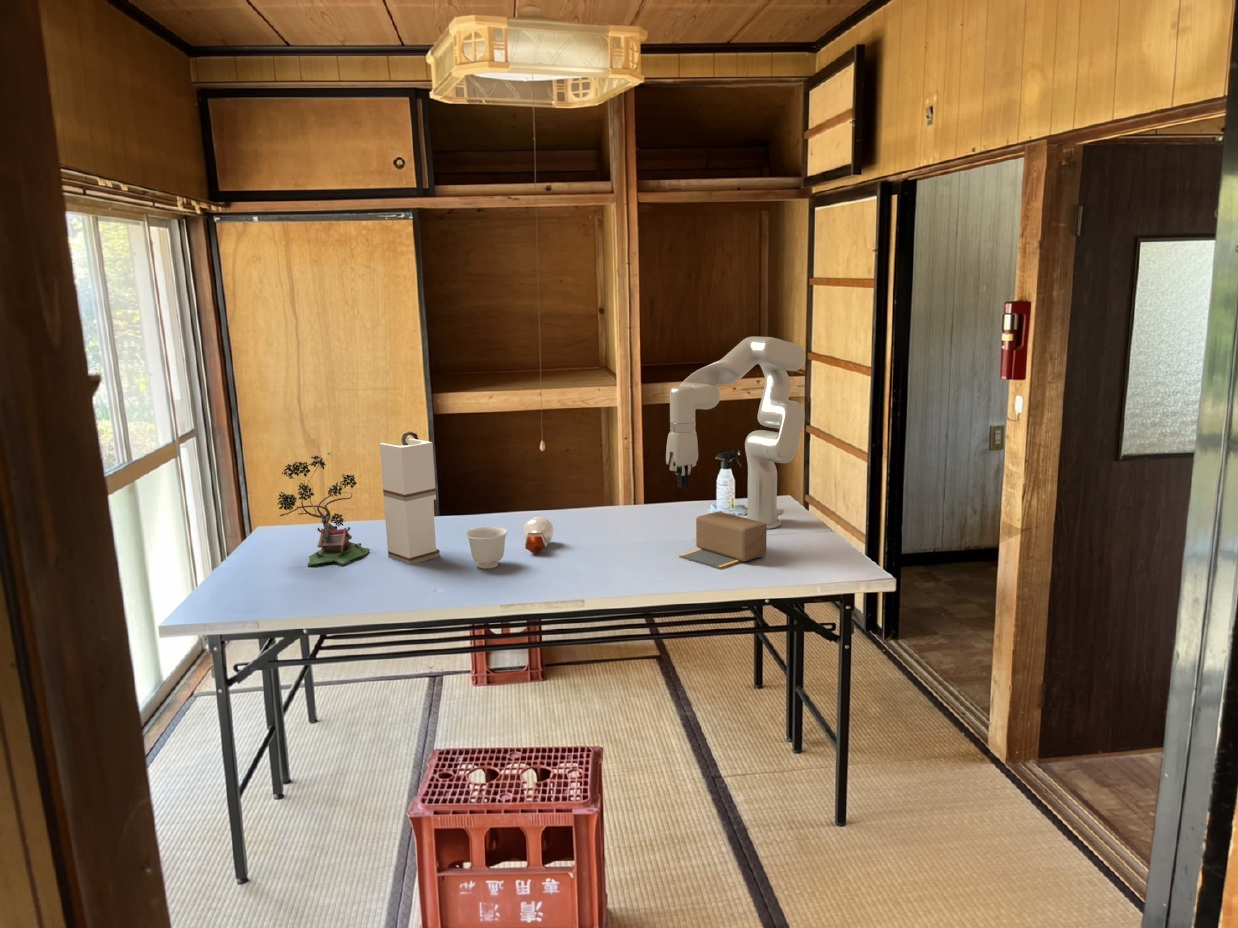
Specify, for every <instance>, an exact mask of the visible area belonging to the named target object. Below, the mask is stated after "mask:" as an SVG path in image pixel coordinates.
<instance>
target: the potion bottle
mask: <svg viewBox="0 0 1238 928" xmlns="http://www.w3.org/2000/svg"><path fill="white" fill-rule="evenodd" d="M522 533H523V538H524V539H525V543H524V549H525V550H527V551H529V552H531V553H532V554H533V555H538V554H539V553H541V552H542V551H543V550H545V549H546V547H547V546H548V545H549V542H551V541H552V539H553V537H554V533H555V529H554V526H553V523H552V522H551V521H550V520H549V519H548V518H547V517H543V516H541V515H536V516H534V517H531V518H530V519H528V520H527V521H526V522H524V526H523V531H522Z"/></svg>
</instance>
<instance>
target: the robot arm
mask: <svg viewBox="0 0 1238 928" xmlns="http://www.w3.org/2000/svg"><path fill="white" fill-rule="evenodd" d="M805 352H806V351H805V350H804V348H803V347H802V346H801V345H799V344H798V343H794V342H790V341H786V340H783V339H779V338H777V337H776V338H775V337H772V336H747V337H746V338H744V339H742V340H741V341H740V342H739V343H738V344H736V346H734V347H733V348H732V349H731V350H730V351H729V352H727V354H726V355H724V356H723V357H722V358H721V359H719V360H717V361H714V362H712V363H710V364H708V365H706V366H704V367H700V368H699V369H697V370H695V371H694V372H692V373H690V375H689V376H687V377H686V378H685V379H684V380H683V381H682V382H681V383H680V384H679V386H678V385H677V386H673V387H671V388H670V390H669V426H670V427H669V430H670V431H669V433H668V435H667V440H666V450H665V463H666V465H668V466H669V471H672V472H675V475H677V477H676V479H677V480H676V481H677V488H681V489H688V488H689V487H690V483H689V482H690V476H689V475H690V474H691V471H692V468H694V467H695V466H697V462H698V460H699V447H698V446H699V444H698V435H697V431H696V426H697V425H696V424H697V423H696V410H711V409H713V408H715V407H716V406H717V405H718V404H719V403H720V400H721V393H720V391H719V389H718V387H719V386H724V385H725V386H726V385H730V384H733V383H736V382H738V381H740V380H741V379H742V378H743V377H744V376H745V375H746V374H747V373H748V372H750V371H751V370H752V369H753V368H754V367H755V366H756V365H759V366H760V368H761V371H762V372H763V373H762V374H763V376H764V385H763V387H764V388H763V392H762V396H761V398H760V403H759V406H758V407H759V408H758V412H757V421H758V423H759V424H760V425H761V426H764V427H767V428H771V429H772V428H773V429H779V430H778V431H777V432H776V431H770V430H764V429H762V430H761V429H759V430H754V431H751V432H750V433H748V435H747V436H746V438H745V441H744V448H745V449H744V450H745V457H746V462H747V517H746V518H747V519H751V520H755V521H759V522H763V523H765V524H766V525H767V530H769V529H774V528H775V529H776V528H779V527H781V525H782V520H781V519H779V516H781V515H784V513H785V509H783V508H779V509H777V508H778V507H777V505H778V504H777V503H778V501H777V499H778V496H777V495H778V471H777V467H776V464H775V463H778V464H787V463H790V462H791V461H792V460H793V459H794V458H795V456H796V454H797V451H798V446H799V443H800V439H801V435H802V432H803V428H804V424H805V419H806V418H805V417H806V416H805V410H804V407H803V405H802V404H801V403H800V402H798V401H796V400H789V399H790V393H791V388H792V386H791V385H792V383H791V379H790V377H789V374H788V372H796V371H799V370H800V369H801V368H802V367H803V366H805V363H806V357H807V356H806V353H805Z"/></svg>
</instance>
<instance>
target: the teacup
mask: <svg viewBox="0 0 1238 928" xmlns="http://www.w3.org/2000/svg"><path fill="white" fill-rule="evenodd" d="M507 534H508V530H507V529H506V528H503V527H499V526H498V527H497V526H485V527H484V526H483V527H479V528H478V527H477V528H473V527H471V528H469V529H468V530H467V532H466V533H465V536H466V537H467V538H468V542H469V547H470V553H471V556H472V559H473V560H474V561H475V562H476V563H478V568H480V569H494V568H496V567H498V566H499V562H500V561H501V560H502V559H503V557H504V552H505V546H506V545H505V544H506V543H505V542H506V536H507Z"/></svg>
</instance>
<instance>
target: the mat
mask: <svg viewBox="0 0 1238 928" xmlns="http://www.w3.org/2000/svg"><path fill="white" fill-rule="evenodd" d="M678 556H679V558H681V559H684V560H688V561H691V562H694V563H698V564H700V565H704V566H708V567H711V568H715V569H718V570H722V568H723V569H725V568H727V567H731V566H734V565H737V564H739V563H743V562H744V561H741V560H738V559H735V558H731V557H728V556H724V555H721V554H718V553H714V552H711V551H708V550H704V549H701V548H697V549H694V550H691V551H689V552H686V553H682V554H679V555H678Z"/></svg>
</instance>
